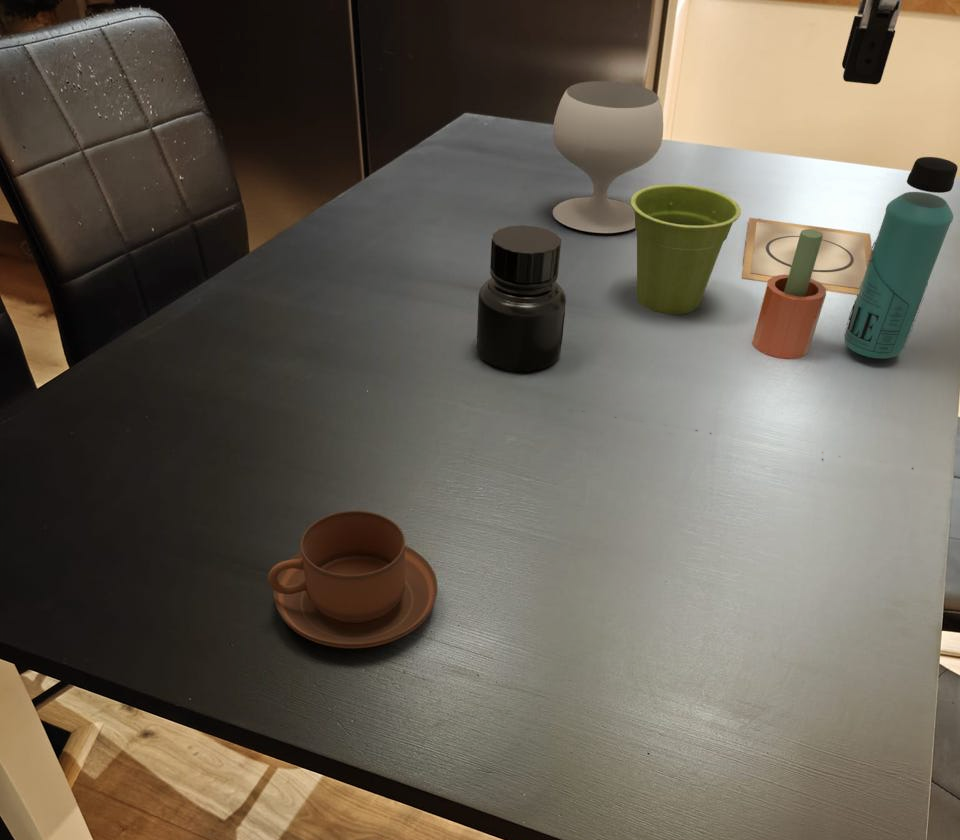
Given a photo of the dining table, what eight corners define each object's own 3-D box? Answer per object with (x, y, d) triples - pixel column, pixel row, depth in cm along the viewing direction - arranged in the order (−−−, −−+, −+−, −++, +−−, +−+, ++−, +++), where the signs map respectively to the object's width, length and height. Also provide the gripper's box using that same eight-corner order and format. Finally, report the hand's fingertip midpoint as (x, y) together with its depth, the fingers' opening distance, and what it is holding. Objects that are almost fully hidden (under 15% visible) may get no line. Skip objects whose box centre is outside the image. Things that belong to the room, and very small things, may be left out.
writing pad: (868, 238, 125) (870, 232, 125) (875, 301, 111) (878, 295, 111) (748, 221, 128) (749, 216, 127) (740, 282, 114) (742, 275, 113)
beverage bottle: (908, 357, 102) (986, 161, 88) (882, 379, 98) (958, 178, 84) (853, 337, 105) (919, 144, 90) (825, 357, 101) (890, 159, 87)
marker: (790, 341, 102) (823, 230, 94) (790, 351, 101) (823, 238, 92) (770, 338, 102) (801, 227, 94) (769, 348, 101) (800, 235, 93)
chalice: (621, 247, 120) (640, 119, 109) (526, 221, 125) (535, 96, 114) (665, 214, 128) (686, 92, 118) (575, 191, 133) (587, 72, 123)
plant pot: (596, 292, 110) (610, 192, 102) (678, 275, 114) (697, 178, 106) (654, 336, 103) (673, 232, 95) (739, 316, 107) (764, 215, 99)
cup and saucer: (326, 687, 64) (319, 623, 60) (248, 590, 71) (237, 526, 67) (468, 621, 70) (471, 557, 65) (383, 536, 76) (380, 473, 72)
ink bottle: (578, 351, 100) (592, 237, 91) (535, 384, 95) (545, 267, 86) (502, 324, 103) (509, 213, 95) (456, 355, 98) (459, 239, 90)
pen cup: (806, 340, 104) (826, 278, 99) (806, 366, 99) (826, 303, 94) (752, 332, 104) (768, 270, 100) (749, 358, 100) (766, 295, 95)
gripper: (1005, -190, 64) (910, 106, 77) (976, -204, 76) (897, 57, 88) (892, -197, 65) (817, 97, 78) (880, -209, 77) (816, 49, 90)
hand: (860, 73), depth 83 cm, fingers open, 3 cm apart
